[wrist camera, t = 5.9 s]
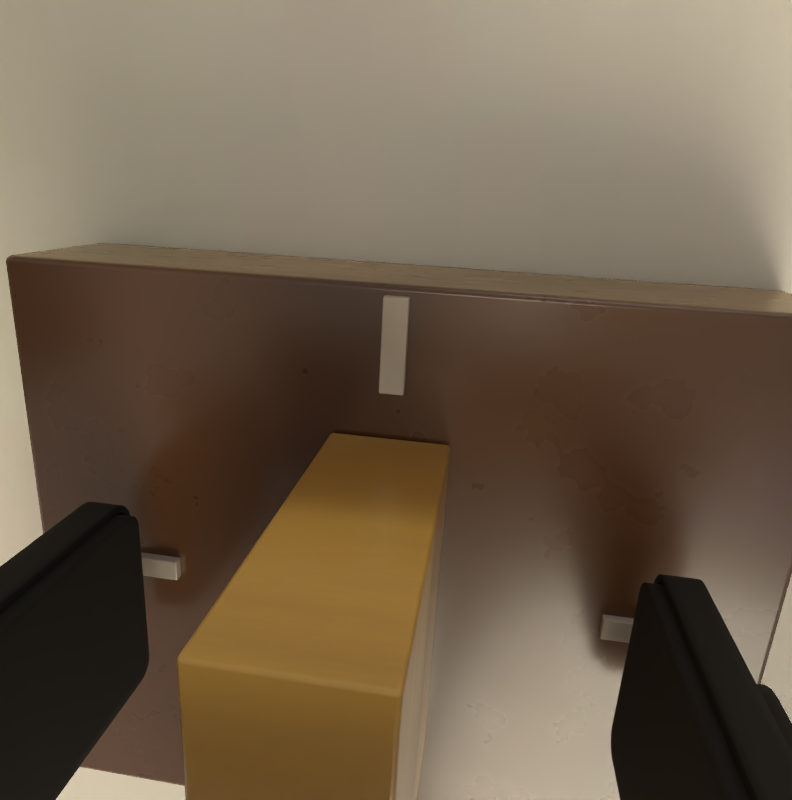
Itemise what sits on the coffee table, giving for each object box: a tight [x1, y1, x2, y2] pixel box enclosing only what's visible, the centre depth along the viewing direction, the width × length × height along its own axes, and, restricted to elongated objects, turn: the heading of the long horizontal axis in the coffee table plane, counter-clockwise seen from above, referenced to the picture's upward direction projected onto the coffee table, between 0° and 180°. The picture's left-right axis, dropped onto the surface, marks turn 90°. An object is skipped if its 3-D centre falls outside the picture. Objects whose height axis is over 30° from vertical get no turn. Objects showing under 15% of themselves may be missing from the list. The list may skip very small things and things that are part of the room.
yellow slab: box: [177, 433, 450, 800], centre depth 8 cm, size 6×2×5 cm, turn 177°
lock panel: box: [6, 243, 792, 800], centre depth 12 cm, size 12×10×3 cm
